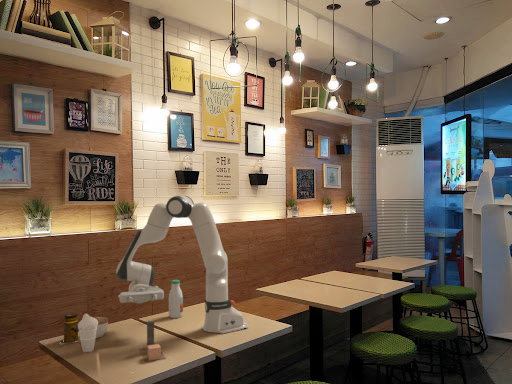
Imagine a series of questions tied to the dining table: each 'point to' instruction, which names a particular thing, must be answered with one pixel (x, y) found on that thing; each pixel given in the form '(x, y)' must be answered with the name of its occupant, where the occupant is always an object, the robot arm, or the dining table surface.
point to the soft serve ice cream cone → (87, 332)
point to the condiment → (70, 329)
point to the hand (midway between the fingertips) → (143, 299)
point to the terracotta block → (154, 352)
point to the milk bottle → (175, 300)
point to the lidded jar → (101, 326)
